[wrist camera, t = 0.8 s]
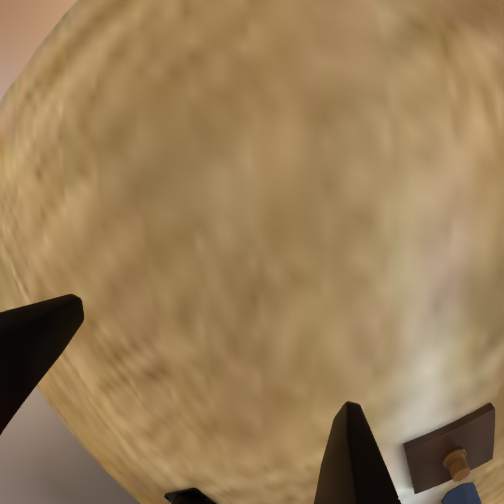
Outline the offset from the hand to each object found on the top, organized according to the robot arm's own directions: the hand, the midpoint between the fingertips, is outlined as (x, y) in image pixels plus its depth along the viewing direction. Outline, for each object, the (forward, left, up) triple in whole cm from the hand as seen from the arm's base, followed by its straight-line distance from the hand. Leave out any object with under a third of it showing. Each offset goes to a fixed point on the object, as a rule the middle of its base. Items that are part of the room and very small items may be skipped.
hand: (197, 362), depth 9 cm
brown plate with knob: (+3, -28, -15) cm, 32 cm away
